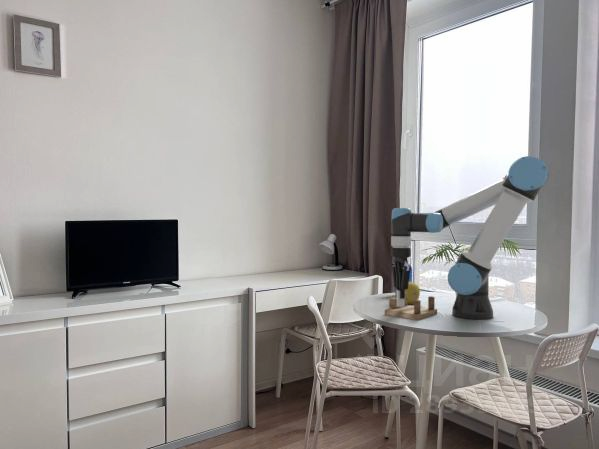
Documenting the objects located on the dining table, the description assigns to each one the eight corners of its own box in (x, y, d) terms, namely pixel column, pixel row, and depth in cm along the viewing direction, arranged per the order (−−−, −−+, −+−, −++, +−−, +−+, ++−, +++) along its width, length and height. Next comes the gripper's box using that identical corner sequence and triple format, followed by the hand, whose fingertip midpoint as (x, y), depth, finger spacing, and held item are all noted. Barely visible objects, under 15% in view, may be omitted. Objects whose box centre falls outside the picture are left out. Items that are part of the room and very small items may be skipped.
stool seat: (437, 314, 185) (437, 296, 185) (418, 320, 174) (418, 301, 174) (403, 309, 196) (403, 292, 195) (384, 314, 185) (384, 297, 184)
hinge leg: (402, 304, 194) (402, 292, 194) (408, 304, 193) (408, 293, 193) (389, 307, 186) (389, 295, 186) (394, 308, 185) (394, 296, 185)
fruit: (424, 303, 208) (424, 281, 208) (409, 306, 202) (409, 283, 201) (405, 300, 216) (406, 279, 216) (391, 303, 209) (391, 281, 209)
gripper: (417, 247, 178) (417, 309, 178) (402, 245, 190) (401, 303, 191) (399, 248, 176) (399, 310, 176) (385, 246, 189) (385, 303, 189)
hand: (400, 306), depth 184 cm, fingers closed
